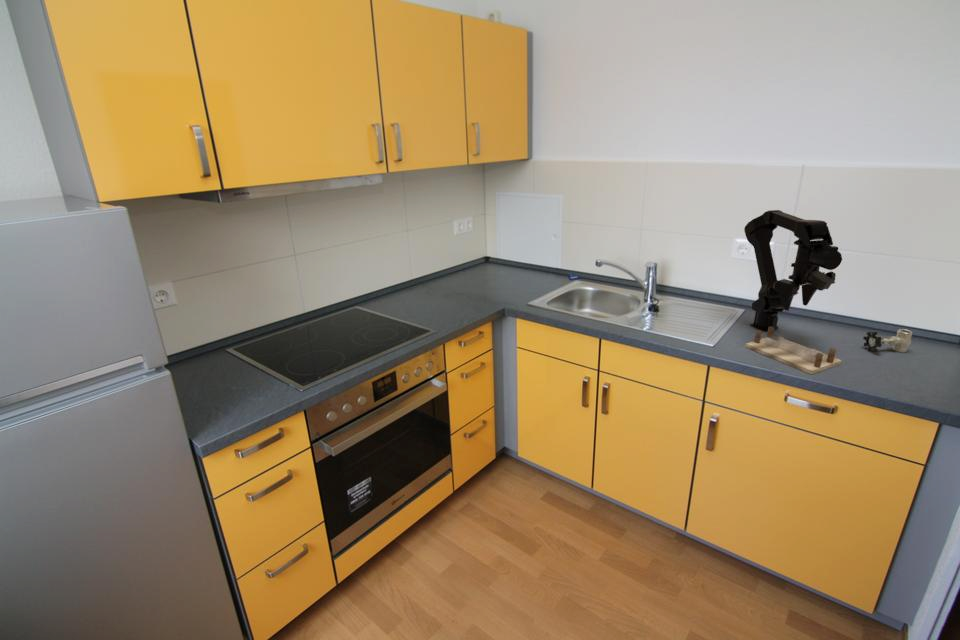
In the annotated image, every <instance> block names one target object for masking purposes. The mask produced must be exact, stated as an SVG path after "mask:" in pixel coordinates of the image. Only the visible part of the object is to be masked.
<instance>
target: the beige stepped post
mask: <svg viewBox="0 0 960 640" xmlns="http://www.w3.org/2000/svg"><path fill="white" fill-rule="evenodd" d="M765 337H766V342H765V344H767V345H769V346H772V347H777V348H780V349H782V350H785V351H787V352H790V353H792V354H795V355H797V356H800V357H802V359H804V360H807V361H809V362H812V363H813V362H815V359H816V355H817V353H822V354H823V352H822V351H820V350H817V349H815V348H810V347H808V346H805V345H802V344H800V345H799V343H797V342H794V341H792V342H791V340H789V341H788V339H786V338H785V337H783V336H781V335H778V334H773V335H771V336H768V337H767V336H765ZM785 339H786V340H785ZM793 342H794V343H793ZM796 343H797V344H796ZM801 345H802V346H801ZM804 346H805V347H804ZM807 347H808V348H807ZM809 348H810V349H809Z"/></svg>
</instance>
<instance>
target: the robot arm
mask: <svg viewBox="0 0 960 640" xmlns="http://www.w3.org/2000/svg"><path fill="white" fill-rule="evenodd" d="M778 227H780V228H783V229H785V230H788V231H791V232H792V233H793V236H794V237H796V238H797V240H795V241H793V244H794V245H797V250H796V256H795V260H794V262H792V263H791V265H790V267H792V269H793V270H792V274H791V275H788V279H786V278H783V279H779V280H778V278H777V273H776V267H775V263H774V258H773V253H772V249H771V241H772V239H773V237H774V236H773V235H774V231H775V230H776V229H777V228H778ZM743 231H744V234H745V238H746V239H747V241H748V243H749V244H750V245H751V246H752V247H753V249H754V255H755V259H756V264H757V268H758V269H757V270H758V274H759V280H760V283H761V285H760V289H759V292H758V294H757V295H758V296H757V297H758V298H757V299H756V300H754V302H752V303H751V309H752V310H753V311H755V313H754V319H753V322H751V323H750V326H752V327H754V328H757V329H758V330H761V331H763V332H768V328H769V327H774V330H775V329H778V328H779V326H778V321H779V317H778V315H779V313H783V311H784V310H785V311H789V310H790V308H791V305H792V302H793V299H794V296H797V295H798V294H799V290H800V287H801V298H802V305H803V306H808V304H809V302H811V300H812V297H813V296H814V295H815V294H816V292H817V291H821V292H822V291H824V290H828V289H829V288H830V286H831V285H832V284H833V285H834V284H835V283H836V273H835V272H833V270H835V269H837V268H838V267H839V266H840V265H841V263H842V261H843V257H842V253H841V252H840V251H839V246H836V245H834V242H833V238H832V236H831V232H830V230H829V227H828V222H826V221H825V220H819V219H803V218H801V217H798V216H795V215H792V214H789V213H786V212H783V211H782V210H780V209H775V210H773V209H772V210H770V209H769V210H767V211H765V212H764V213H762V214H760V215H759V216H756V218H755V217H754V218H753V219H752V220H750V221H749V222H747V223H746V225H745V226H744V229H743ZM820 268H822V269H825V270H828V272H826V273H825V272H824V271H823V272H822V271H820Z"/></svg>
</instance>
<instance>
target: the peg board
mask: <svg viewBox="0 0 960 640" xmlns="http://www.w3.org/2000/svg"><path fill="white" fill-rule="evenodd" d="M774 330H775V329H774V327H769V328H768V331H767V334H766V336H765V337H762V332H763V330H762V329H756V330H755V335H754V340H753V341H750V342H746V343H745V345H744V347H745V348H746V349H750V350H751V351H754V352H757V353H759V354H762V355H764V356H765V357H766V356H767V357H768V358H771V359H773V360H775V361H777V362H780V363H782V362H783V363H782V364H785V365H788V366H790V367H792V368H794V369H797V370H800V371H802V372H804V373H807V374H809V375H813V374H814V375H815V374H818V373H819V372H822V371H825V370H828V369H831V368H834V367H836V366H839V365H842V361H843V360H842V359H839V358H837V357H836V352H837V350H836V349H835V348H829V349H828V354H826V353H823V354H822V353H817V355H816V359H815V362H813V363H812V362H809V361H807V360H804V359H802V357H800V356H797V355H795V354H792V353H790V352H787V351H785V350H782V349H780V348H777V347H772V346H769V345H767V344H765V342H766V337H768V336H771V335H774ZM784 339H785V340H788V339H786V338H784ZM788 341H791V340H788ZM791 342H793V343H796V344H799V343H797V342H794V341H793V340H792V341H791ZM799 345H801V346H804V347H807V348H809V349H811V347H808V346H805V345H802V344H799Z"/></svg>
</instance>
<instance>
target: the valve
mask: <svg viewBox="0 0 960 640" xmlns="http://www.w3.org/2000/svg"><path fill="white" fill-rule="evenodd" d="M876 335H878V332H877V331H867V332H866V335H865V336H863V340H864V341H865V342H864V343H863V347H867V351H868V352H873V353H874V352H877V353H878V351H879V349H877V348H881V347H882V345H888V346H890V347H892V350H893V351H895V352H898V351H899V353H907V352H908V348H909V346H910V345H911V344H912V336H913V332H912V331H911V330H909V329H906V328H905V329H904V328H900V329H897V332H896V336H895V335H894V336H888V337H887V338H882V337H881V336H876Z"/></svg>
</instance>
